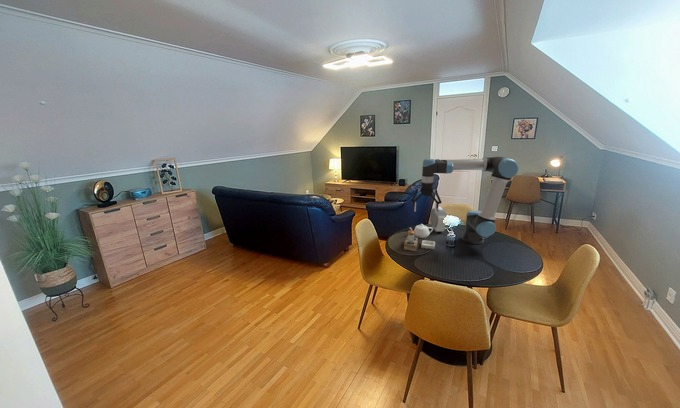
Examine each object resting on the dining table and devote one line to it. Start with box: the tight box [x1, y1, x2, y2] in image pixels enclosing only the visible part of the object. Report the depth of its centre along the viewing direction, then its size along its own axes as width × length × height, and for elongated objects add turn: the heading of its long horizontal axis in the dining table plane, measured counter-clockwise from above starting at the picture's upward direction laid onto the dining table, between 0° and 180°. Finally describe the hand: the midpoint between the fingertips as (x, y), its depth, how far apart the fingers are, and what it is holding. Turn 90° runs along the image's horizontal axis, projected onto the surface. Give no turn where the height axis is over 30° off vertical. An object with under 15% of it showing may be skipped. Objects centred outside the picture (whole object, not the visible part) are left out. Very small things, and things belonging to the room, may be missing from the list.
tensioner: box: [403, 235, 419, 252], centre depth 201 cm, size 14×8×7 cm, turn 159°
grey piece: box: [429, 206, 448, 233], centre depth 228 cm, size 18×8×20 cm, turn 179°
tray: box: [420, 239, 436, 251], centre depth 201 cm, size 9×9×2 cm
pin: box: [407, 229, 415, 244], centre depth 197 cm, size 4×4×13 cm
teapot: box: [409, 223, 434, 239], centre depth 219 cm, size 20×12×10 cm, turn 96°
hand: (425, 212), depth 191 cm, fingers open, 13 cm apart
